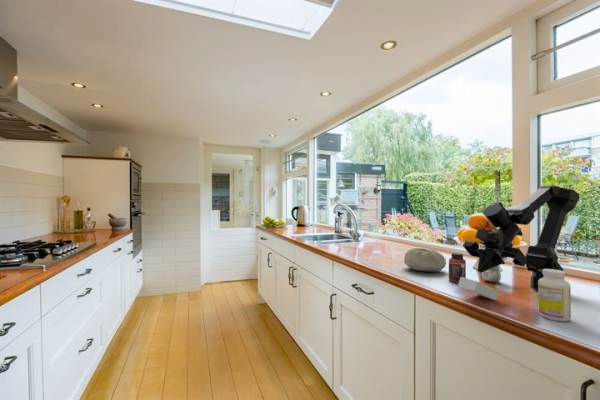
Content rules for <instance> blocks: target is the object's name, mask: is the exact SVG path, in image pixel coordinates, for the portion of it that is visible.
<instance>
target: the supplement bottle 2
mask: <svg viewBox="0 0 600 400" xmlns="http://www.w3.org/2000/svg"><path fill="white" fill-rule="evenodd" d="M542 274H543V275H544V277H543V278H540V279H539V280H538V291H537V300H538V301H537V309H538V315H540V317H542V318H545V319H548V320H551V321H554V322H555V321H556V322H570V321H571V320H572V312H571V311H572V307H571V306H572V305H571V303H572V302H571V297H572V296H571V295H572V293H571V283H570V282H569V281H568V280H565V277H566V271H564V270H563V271H561V270H555V269H543V270H542Z"/></svg>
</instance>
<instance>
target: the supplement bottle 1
mask: <svg viewBox="0 0 600 400" xmlns="http://www.w3.org/2000/svg"><path fill="white" fill-rule="evenodd" d="M466 264H467V263H466V259H464V254H463V253H461V252H452V253H451V257H450V258H449V259H448V281H449V282H451V283H453V284H454V283H455V284H459V281H460V277H462V278H466V279H467V277H466V276H467V272H466V271H467V265H466Z"/></svg>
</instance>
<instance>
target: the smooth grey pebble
mask: <svg viewBox="0 0 600 400" xmlns="http://www.w3.org/2000/svg"><path fill="white" fill-rule="evenodd" d="M403 261H404V264H405V266H407V267H408V268H410V269H411V270H414V271H417V272H418V271H419V272H438V271H442V270H444V268H446V264H447V262H446V258H445V256H444V255H443V254H442V253H440V252H438V251H436V250H433V249H432V250H431V249H427V248H421V247H415V248H414V247H413V248H411V249H409V250H407V252H406V253H404V259H403Z"/></svg>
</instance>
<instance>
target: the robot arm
mask: <svg viewBox="0 0 600 400" xmlns="http://www.w3.org/2000/svg"><path fill="white" fill-rule="evenodd" d="M579 201H580V193H579V192H577V191H576V190H575V189H570V188H565V187H560V186H557V185H554V184H552V185H541V186H539V187H537V189H536V191H534V192H533V193H532V194H530V195H529V196H528V197H526V198H525V199H524V200H523V201H522V202H520V203H517V204H514V205H510V206H509V207H507V208H505V206H504V205H503V203H502V202H501V201H500V202H499V201H498V202H497V201H495V202H494V203H493V204H491V205H489V206H486V207H485V208H484V209H483V210H482V214H483V217H485V218H486V219H487V221H488V222H489V224H490V225H491V226H492V227H494V229H487V228H486V229H485V228H477V229H476V234H475V235H474V238H475V239H479V241H481V242H480V243H481V244H479V243H478V242H477V241H472V240H465V241H464V243H463V244H462V247H463V248H464V249H465V251H466V252H467V253H468V254H469V256H471V257H476V258H478V259H479V260H478V264H477V265H478V266H477V272H478V273H481V274H482V272H484V271H486V270H488V269H490V268H493V267H495V266H498V265H499V266H501V265H505V263H506V262H505V260H506V259H513V260H512V263H513V264H514V265H515V266H519V267H525V266H526V269H527V271H528V272H532V273H531V275H530V288H532V289H533V290H534V291H536V292H538V280H539V279H540V278H543V277H544V275H543V274H542V270H543V269H555V270H561V271H564V268H563V267H562V266H561V264H560V263H559V262H558V260H559V257H558V254H557V251H556V247H557V243H558V240H559V237H560V234H561V232H562V228H563V226H564V223H565V219H566V217H567V215H568V213H570V212H571V211H573V210H574V209H575V208H576V206H577V204H578V202H579ZM545 204H546V205H547V208H548V213H547V215H546V218H545V221H544V223H543V226H542V229H541V232H540V235H539V238H538V241H537V243H536V244H535V245H529V246H528V247H527V252H526V253H525V254H524V253H523V252H522V250H521V249H520V248H519V247H514V244H513V243H512V242H513V241H514V239H515V238H516V236H519V237H522V236H523V232H522V229H521V227H519V226H520V225H522V226H527V225H529V224H530V223H531V222H532V221H533V220H534V219H535V213H536V212H537V211H538V210H539V209H540V208H542V207H543V206H544V205H545ZM482 244H483V245H485V246H482Z"/></svg>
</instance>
